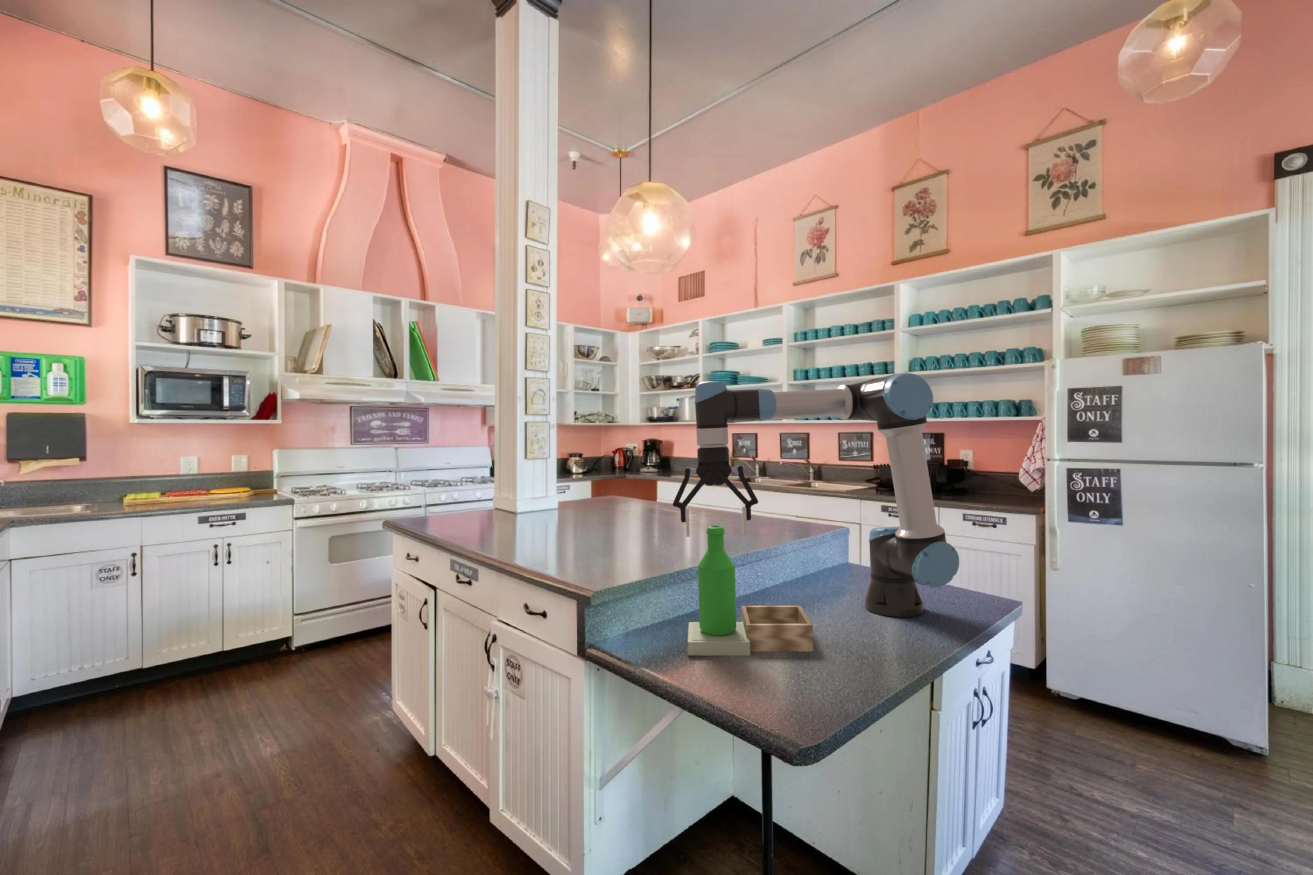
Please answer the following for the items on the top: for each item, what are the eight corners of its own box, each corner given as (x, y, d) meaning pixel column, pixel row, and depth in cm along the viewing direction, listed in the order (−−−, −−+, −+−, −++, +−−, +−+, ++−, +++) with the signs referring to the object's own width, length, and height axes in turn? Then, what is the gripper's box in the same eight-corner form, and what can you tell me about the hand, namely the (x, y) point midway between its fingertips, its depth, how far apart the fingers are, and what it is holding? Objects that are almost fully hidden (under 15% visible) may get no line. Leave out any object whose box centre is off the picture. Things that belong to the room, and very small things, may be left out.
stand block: (745, 633, 140) (744, 621, 140) (750, 655, 126) (749, 641, 126) (689, 633, 141) (688, 621, 141) (688, 655, 127) (687, 641, 127)
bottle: (724, 639, 127) (721, 530, 127) (692, 632, 133) (689, 527, 133) (743, 628, 134) (740, 525, 135) (712, 622, 140) (709, 522, 140)
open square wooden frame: (801, 629, 142) (800, 605, 142) (813, 651, 127) (812, 625, 127) (741, 629, 143) (741, 605, 143) (747, 651, 128) (746, 625, 129)
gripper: (763, 444, 137) (767, 530, 137) (661, 448, 138) (665, 533, 138) (767, 444, 129) (771, 536, 129) (659, 448, 131) (663, 539, 131)
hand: (716, 535), depth 134 cm, fingers open, 13 cm apart
